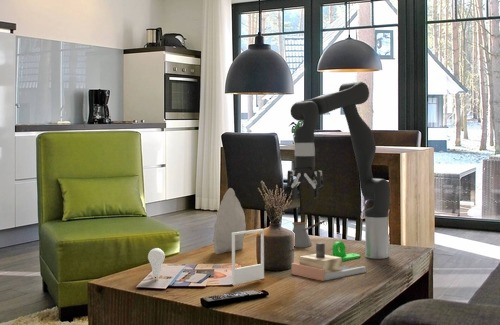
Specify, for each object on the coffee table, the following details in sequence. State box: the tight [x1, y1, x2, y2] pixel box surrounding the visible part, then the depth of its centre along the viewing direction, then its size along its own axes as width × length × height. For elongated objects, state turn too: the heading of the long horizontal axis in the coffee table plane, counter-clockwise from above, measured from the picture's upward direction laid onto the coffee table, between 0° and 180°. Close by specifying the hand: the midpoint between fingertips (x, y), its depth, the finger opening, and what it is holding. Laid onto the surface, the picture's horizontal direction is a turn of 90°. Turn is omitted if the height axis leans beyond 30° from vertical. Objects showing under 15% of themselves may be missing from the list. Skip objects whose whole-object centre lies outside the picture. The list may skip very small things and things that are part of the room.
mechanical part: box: [332, 240, 361, 262], centre depth 257 cm, size 12×6×8 cm, turn 126°
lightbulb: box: [147, 247, 166, 279], centre depth 222 cm, size 6×6×11 cm
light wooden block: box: [299, 242, 343, 274], centre depth 227 cm, size 10×12×11 cm
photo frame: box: [231, 228, 265, 286], centre depth 216 cm, size 15×1×18 cm, turn 133°
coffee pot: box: [291, 220, 328, 248], centre depth 278 cm, size 21×12×15 cm, turn 44°
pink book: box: [291, 262, 367, 282], centre depth 230 cm, size 24×16×4 cm
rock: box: [212, 187, 247, 255], centre depth 268 cm, size 19×9×30 cm, turn 136°
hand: (305, 198), depth 228 cm, fingers open, 8 cm apart
